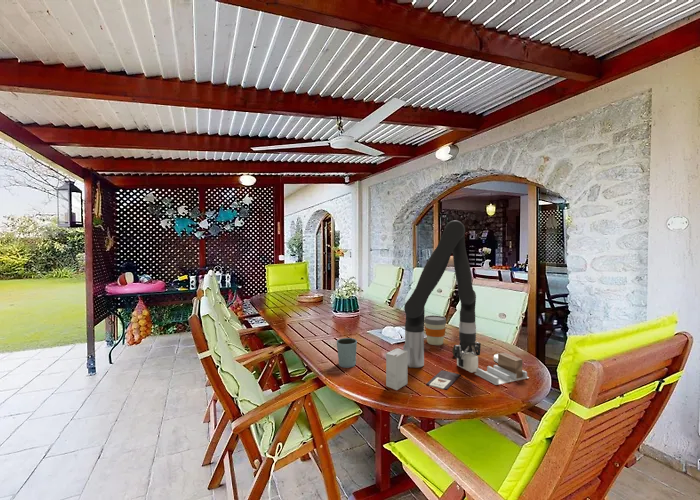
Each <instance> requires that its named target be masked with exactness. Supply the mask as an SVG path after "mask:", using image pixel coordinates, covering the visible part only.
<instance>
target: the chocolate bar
mask: <svg viewBox="0 0 700 500" xmlns="http://www.w3.org/2000/svg"><path fill="white" fill-rule="evenodd" d="M460 377H461V374H460V373H455V372H451V371H447V370H442V369H441V370H440V371H439V372H438V373H437V374H436V375H434V376H433V377H432V378H431V379H430V380H429V381H428V382H426V386H430V387H433V388H437V389H441V390H446V391H447V390H448V389H450V387H452V385H453V384H454V383H455V382H456V381H457V380H458V379H459V378H460Z"/></svg>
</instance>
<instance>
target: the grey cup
mask: <svg viewBox="0 0 700 500" xmlns="http://www.w3.org/2000/svg"><path fill="white" fill-rule="evenodd" d="M357 344H358V341H357V339H356V338H352V337H344V338H339V339H337V340H336V350H337V360H338V361H337V362H338V365H339V367H341V368H345V369H346V368H347V369H348V368H349V369H350V368H354V367H355V366H356V364H357V346H358V345H357Z"/></svg>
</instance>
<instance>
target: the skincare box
mask: <svg viewBox="0 0 700 500" xmlns="http://www.w3.org/2000/svg"><path fill="white" fill-rule="evenodd" d="M385 355H386V356H385V380H386V381H385V385H386V387H388V388H391V389H393V390H395V391H398V390H400V389H401V388H402V387H404V386H407V385H408V366H407V365H408V351H405V350H403V349H401V348H396V347H395V348H394V349H393V350H390V351H388V352H385Z"/></svg>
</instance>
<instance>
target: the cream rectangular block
mask: <svg viewBox="0 0 700 500" xmlns="http://www.w3.org/2000/svg"><path fill="white" fill-rule="evenodd" d="M462 352H463V351H462ZM456 366H458V367H460V366H459V364H458V358H456ZM460 368H461V369H463V370H465V371H468V372H469V373H476V368H479V355H478V356H476V355H474V354H471V353H469V352H468V353H466V355H465V356H464V358H463V367H460Z"/></svg>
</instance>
